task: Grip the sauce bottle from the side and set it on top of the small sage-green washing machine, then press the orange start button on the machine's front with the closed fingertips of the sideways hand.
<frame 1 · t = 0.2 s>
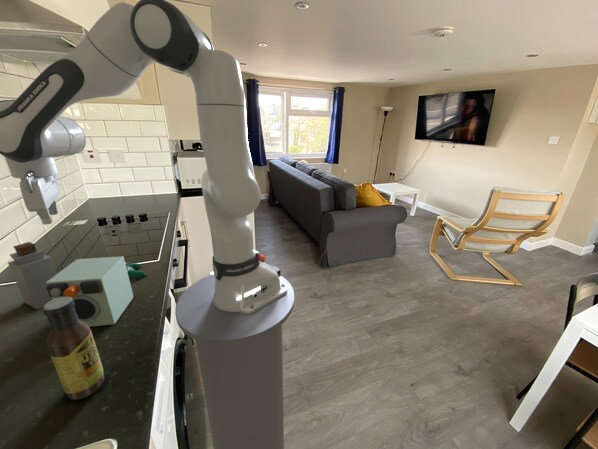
hand: (51, 218, 73), 25 cm above the table, tool pointing down, fingers open, 8 cm apart
gaming controller: (133, 274, 92), on the table
washer: (101, 311, 74), on the table
perfume bottle: (45, 300, 78), on the table
sauce bottle: (87, 386, 53), on the table
start button: (71, 291, 62), point 12 cm above the table, slide at 0.0 cm
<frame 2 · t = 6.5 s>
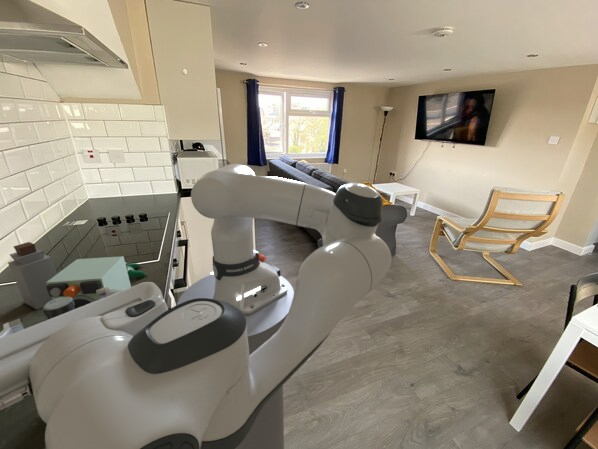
hand: (62, 307, 36), 25 cm above the table, tool horizontal, fingers open, 8 cm apart
nothing on the table moved.
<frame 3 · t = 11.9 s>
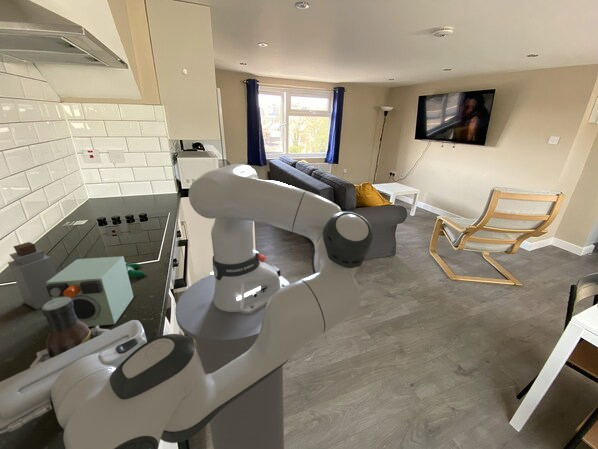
hand: (70, 340, 49), 11 cm above the table, tool horizontal, fingers closed on sauce bottle, 6 cm apart
sauce bottle: (87, 386, 53), on the table, touching gripper
everything else where it was.
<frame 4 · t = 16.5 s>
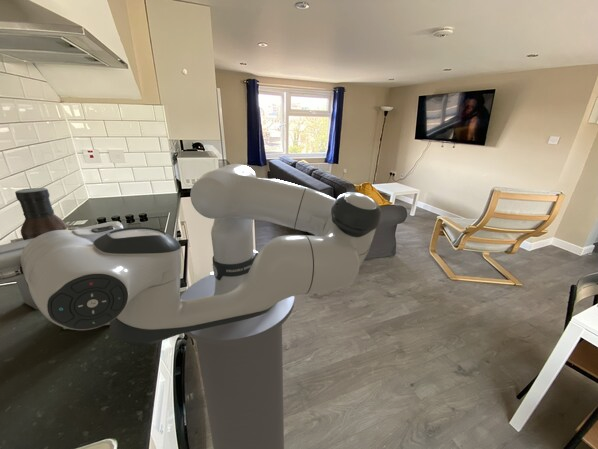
hand: (47, 236, 48), 30 cm above the table, tool horizontal, fingers closed on sauce bottle, 6 cm apart
sauce bottle: (66, 290, 51), point 19 cm above the table, touching gripper
everything else where it was.
when the fingers open (25 cm above the table, at t = 21.2 s): sauce bottle stays where it is, resting on washer.
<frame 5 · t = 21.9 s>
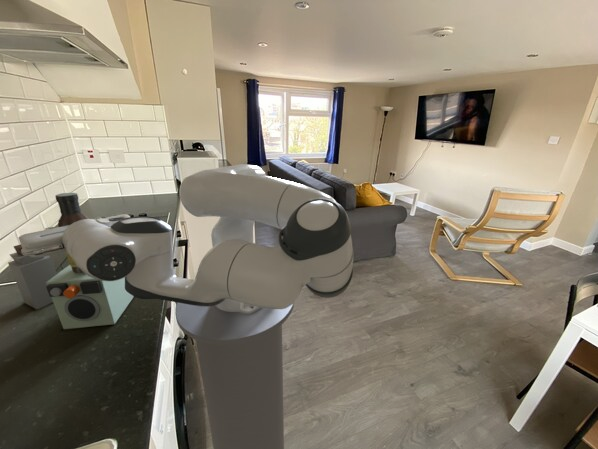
hand: (75, 225, 65), 26 cm above the table, tool horizontal, fingers open, 8 cm apart
sauce bottle: (88, 268, 69), point 14 cm above the table, touching washer
everything else where it was.
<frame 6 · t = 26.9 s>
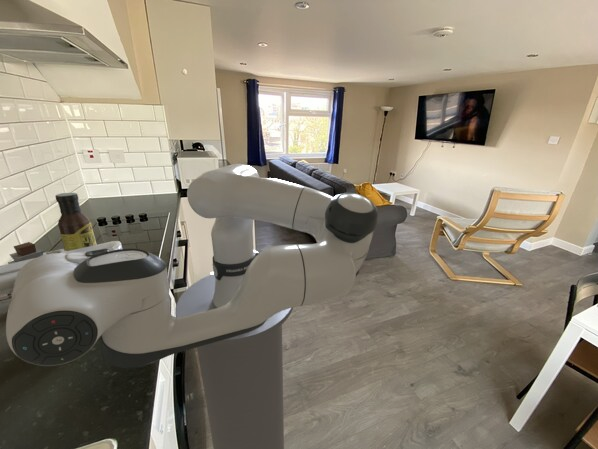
hand: (54, 254, 50), 26 cm above the table, tool horizontal, fingers closed
nothing on the table moved.
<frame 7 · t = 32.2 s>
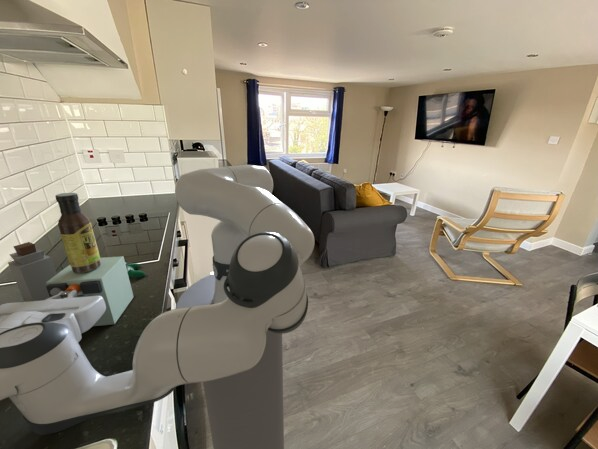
hand: (70, 292, 62), 12 cm above the table, tool horizontal, fingers closed, pressing on start button
start button: (73, 290, 63), point 12 cm above the table, slide at 0.5 cm, touching gripper
everything else where it was.
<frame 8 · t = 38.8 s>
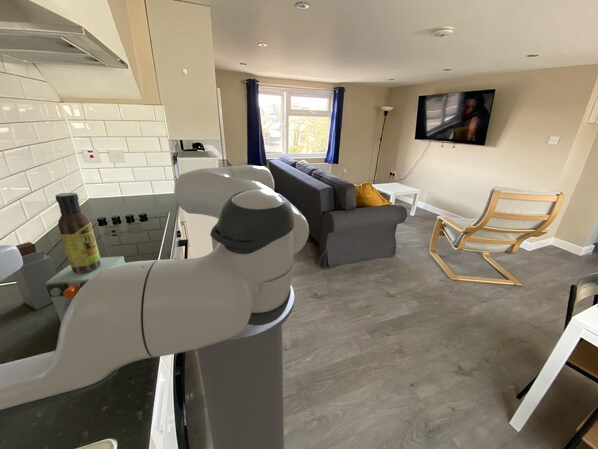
start button: (71, 291, 62), point 12 cm above the table, slide at 0.0 cm
everything else where it was.
at the end: sauce bottle inside the target area on the washer (0.1 cm from its centre), point 13.8 cm above the washer's base; sauce bottle tilted 0°; start button pulled out 0.6 cm at the most during the clip, back to where it started at the end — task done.
